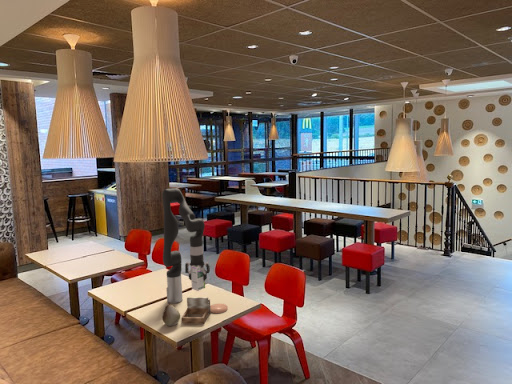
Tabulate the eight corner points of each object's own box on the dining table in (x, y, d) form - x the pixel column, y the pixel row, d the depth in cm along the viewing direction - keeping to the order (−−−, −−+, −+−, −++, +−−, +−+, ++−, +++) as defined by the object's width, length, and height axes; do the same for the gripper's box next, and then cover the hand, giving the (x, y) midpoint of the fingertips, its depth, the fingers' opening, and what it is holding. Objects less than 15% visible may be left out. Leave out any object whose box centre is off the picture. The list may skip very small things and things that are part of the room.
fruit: (174, 318, 226) (172, 299, 224) (184, 322, 220) (183, 303, 218) (159, 325, 218) (158, 305, 217) (170, 329, 212) (168, 309, 211)
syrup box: (197, 291, 221) (196, 267, 219) (191, 288, 225) (190, 265, 223) (205, 288, 225) (204, 264, 223) (198, 285, 229) (197, 262, 227)
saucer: (206, 313, 231) (206, 311, 231) (210, 305, 243) (210, 303, 243) (225, 313, 230) (225, 311, 230) (229, 305, 242) (229, 303, 242)
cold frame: (181, 323, 219) (180, 307, 218) (188, 312, 233) (187, 297, 232) (206, 323, 218) (205, 307, 217) (211, 313, 232) (210, 297, 230)
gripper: (182, 254, 219) (184, 282, 221) (207, 255, 218) (208, 282, 220) (186, 251, 227) (188, 277, 229) (210, 251, 225) (211, 277, 227)
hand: (198, 279), depth 224 cm, fingers closed on syrup box, 8 cm apart
